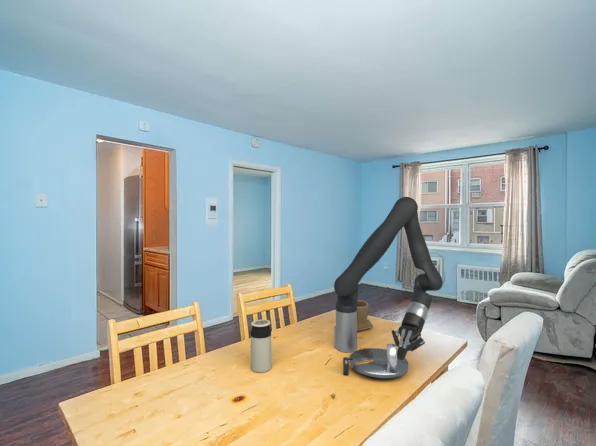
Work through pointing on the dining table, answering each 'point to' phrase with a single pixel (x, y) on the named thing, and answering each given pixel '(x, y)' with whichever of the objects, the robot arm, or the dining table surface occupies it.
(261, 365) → the travel mug
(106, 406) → the dining table surface
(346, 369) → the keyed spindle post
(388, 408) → the dining table surface
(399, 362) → the turntable
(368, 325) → the stone cup
